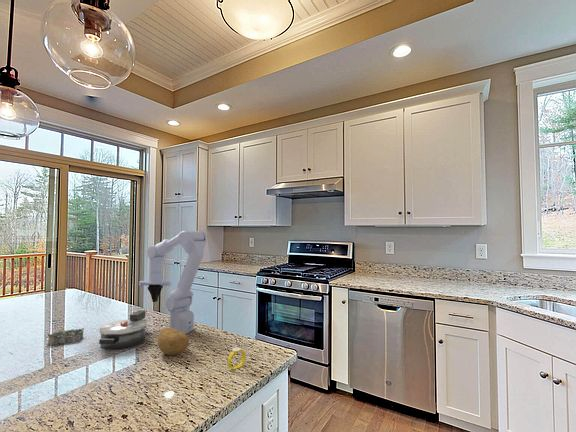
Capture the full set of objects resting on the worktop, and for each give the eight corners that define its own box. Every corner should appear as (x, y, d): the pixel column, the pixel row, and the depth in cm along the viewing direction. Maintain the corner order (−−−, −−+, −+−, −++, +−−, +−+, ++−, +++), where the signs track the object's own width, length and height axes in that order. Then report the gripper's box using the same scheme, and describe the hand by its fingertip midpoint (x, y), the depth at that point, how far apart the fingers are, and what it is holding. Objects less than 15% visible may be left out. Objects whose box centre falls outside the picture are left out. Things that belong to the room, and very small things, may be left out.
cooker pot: (126, 354, 103) (127, 339, 103) (84, 353, 103) (85, 338, 103) (159, 330, 127) (159, 318, 127) (124, 330, 127) (125, 318, 127)
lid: (134, 335, 106) (134, 327, 106) (89, 335, 106) (89, 327, 106) (160, 317, 128) (160, 310, 128) (123, 317, 128) (123, 310, 128)
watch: (231, 373, 90) (230, 354, 90) (226, 370, 92) (225, 351, 92) (247, 365, 94) (246, 347, 94) (241, 362, 96) (241, 344, 96)
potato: (169, 364, 95) (169, 339, 95) (150, 352, 104) (151, 329, 105) (196, 355, 102) (196, 331, 103) (176, 344, 112) (177, 323, 112)
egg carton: (45, 346, 110) (45, 334, 110) (54, 338, 117) (55, 328, 118) (78, 343, 113) (78, 332, 113) (85, 336, 120) (85, 326, 121)
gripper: (174, 270, 140) (174, 299, 139) (144, 270, 140) (144, 299, 139) (168, 272, 133) (167, 303, 132) (136, 272, 133) (135, 302, 132)
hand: (155, 301), depth 135 cm, fingers closed
